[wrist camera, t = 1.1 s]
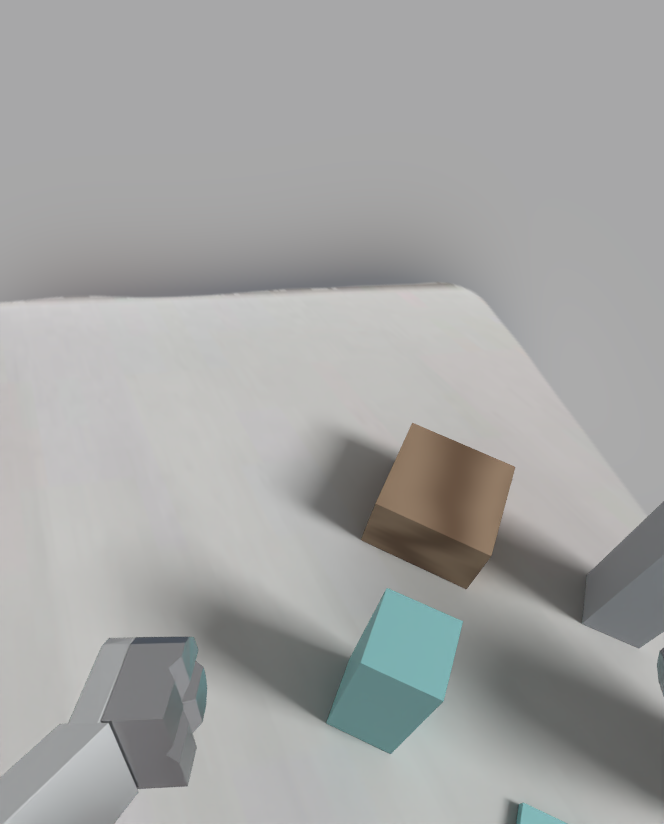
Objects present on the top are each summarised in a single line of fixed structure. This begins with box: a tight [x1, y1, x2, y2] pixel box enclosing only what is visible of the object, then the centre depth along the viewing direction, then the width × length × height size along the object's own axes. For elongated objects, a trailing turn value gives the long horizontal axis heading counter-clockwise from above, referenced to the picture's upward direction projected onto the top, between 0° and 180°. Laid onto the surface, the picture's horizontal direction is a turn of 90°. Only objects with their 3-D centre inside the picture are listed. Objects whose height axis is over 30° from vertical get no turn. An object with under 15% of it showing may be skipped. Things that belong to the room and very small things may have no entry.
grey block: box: [582, 502, 664, 648], centre depth 39 cm, size 4×4×10 cm
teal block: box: [326, 588, 463, 754], centre depth 32 cm, size 4×4×10 cm
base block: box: [361, 423, 515, 589], centre depth 44 cm, size 8×8×5 cm
